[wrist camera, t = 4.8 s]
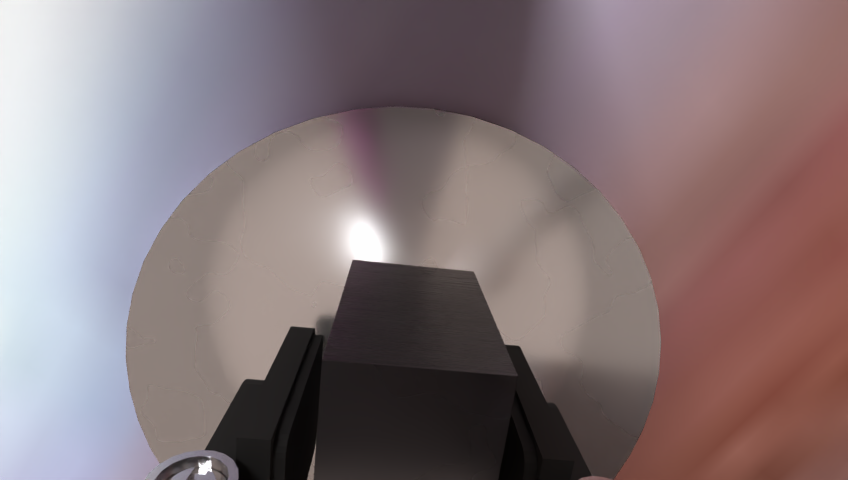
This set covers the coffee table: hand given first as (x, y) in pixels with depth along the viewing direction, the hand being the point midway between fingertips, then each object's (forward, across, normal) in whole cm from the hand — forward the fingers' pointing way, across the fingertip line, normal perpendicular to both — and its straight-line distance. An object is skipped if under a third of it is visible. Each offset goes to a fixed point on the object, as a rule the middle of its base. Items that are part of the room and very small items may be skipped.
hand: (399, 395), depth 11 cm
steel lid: (+2, 0, 0) cm, 2 cm away
